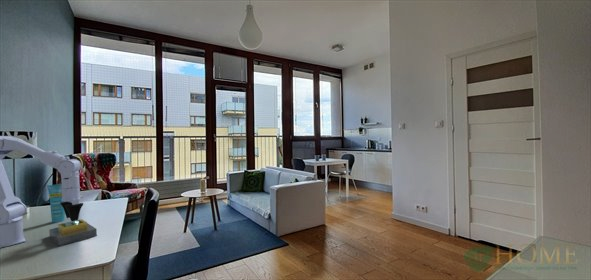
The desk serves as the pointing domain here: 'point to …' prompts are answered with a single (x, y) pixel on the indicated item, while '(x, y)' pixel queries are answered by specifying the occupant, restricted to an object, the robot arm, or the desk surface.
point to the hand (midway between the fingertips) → (72, 218)
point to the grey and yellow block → (72, 232)
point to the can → (71, 223)
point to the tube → (56, 202)
